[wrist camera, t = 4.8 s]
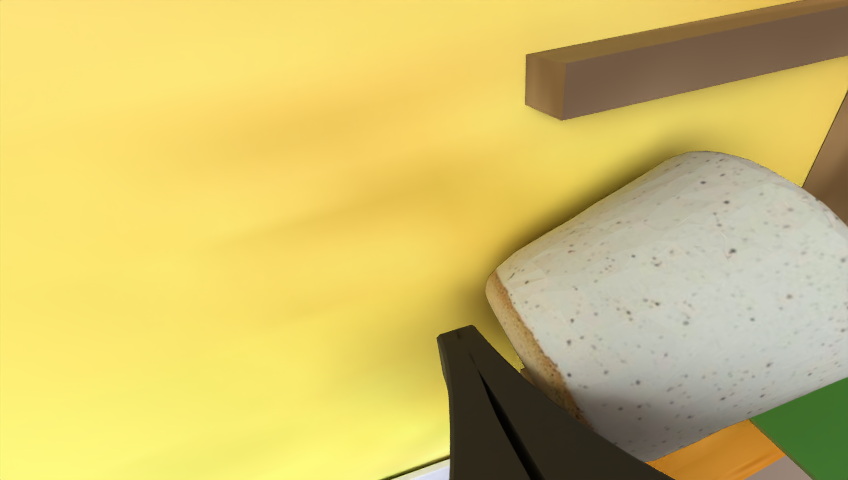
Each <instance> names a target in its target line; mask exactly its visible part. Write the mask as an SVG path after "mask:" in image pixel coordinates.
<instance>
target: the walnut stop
mask: <svg viewBox="0 0 848 480" xmlns="http://www.w3.org/2000/svg"><path fill="white" fill-rule="evenodd" d="M847 55H848V0H801V1H796V2H791V3H786V4H781V5H776V6H771V7H766V8H761V9H756V10H751V11H746V12H740V13H735V14H730V15H725V16H720V17H715V18H710V19H705V20H700V21H695V22H690V23H685V24H680V25H674V26H669V27H664V28H659V29H654V30H649V31H644V32H639V33H634V34H629V35H624V36H619V37H613V38H608V39H603V40H598V41H593V42H588V43H583V44H578V45H573V46H568V47H563V48H558V49H552V50H547V51H542V52H537V53H532V54H527V55H526V96H525V105H528V106H530V107H532V108H534V109H537V110H539V111H541V112H544V113H546V114H548V115H550V116H553V117H555V118H557V119H559V120H567V119H571V118H575V117H580V116H584V115H589V114H593V113H597V112H602V111H606V110H610V109H615V108H619V107H624V106H628V105H632V104H637V103H641V102H645V101H650V100H654V99H659V98H663V97H667V96H672V95H676V94H680V93H685V92H689V91H694V90H698V89H702V88H707V87H711V86H715V85H720V84H724V83H729V82H733V81H737V80H742V79H746V78H750V77H755V76H759V75H764V74H768V73H772V72H777V71H781V70H785V69H790V68H794V67H799V66H803V65H807V64H812V63H816V62H821V61H825V60H829V59H834V58H838V57H842V56H847ZM803 189H804V190H805V191H807V192H808V193H810V194H811V195H812V196H814V197H815V198H817V199H818V200H820V201H821V202H823V203H824V204H825V205H826V206H827V207H829V208H830V209H831V210H832V211H833V212H834V213H835V214H836V215H837V216H838V217H839V218H840V219H841V220H842V221H843V222H844V224H845V225H846V226H847V227H848V93H847V95H846V97H845V100H844V102H843V104H842V106H841V108H840V110H839V112H838V114H837V116H836V118H835V121H834V123H833V125H832V127H831V129H830V131H829V133H828V135H827V137H826V139H825V142H824V144H823V146H822V148H821V150H820V152H819V154H818V156H817V158H816V160H815V163H814V165H813V167H812V169H811V171H810V173H809V175H808V177H807V179H806V181H805V184H804V186H803ZM521 375H522V376H523V377H524V378H526V379H527V380H528V381H529V382H530V383H531V384H532V385H534V386H535V387H536V385H535V384H534V382H533V380H532V378H531V377H530V375H529V373H528V371H527V370H526V368H525V369H522V370H521ZM536 388H537V387H536Z"/></svg>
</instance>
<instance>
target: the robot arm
mask: <svg viewBox="0 0 848 480" xmlns="http://www.w3.org/2000/svg"><path fill="white" fill-rule="evenodd" d="M437 342H438V348H439V354H440V359H441V365H442V371H443V375H444V378H445V382H446V385H447V389H448V395H449V414H450V459H448V460H445V461H442V462H439V463H436V464H434V465H431V466H428V467H425V468H422V469H420V470H417V471H414V472H411V473H408V474H406V475H403V476H400V477H397V478H394V479H392V480H675V479H673V478H671V477H669V476H667V475H666V474H664V473H662V472H660V471H658V470H656V469H655V468H653V467H651V466H650V465H648V464H646V463H644V462H643V461H641V460H639V459H637V458H636V457H634V456H632V455H631V454H629V453H627V452H626V451H624V450H623V449H621V448H619V447H618V446H616V445H615V444H613V443H612V442H610V441H608V440H607V439H605V438H604V437H602V436H600V435H599V434H597V433H596V432H594V431H593V430H591V429H590V428H588V427H587V426H586V425H584V424H583V423H581V422H580V421H578V420H577V419H576V418H574V417H573V416H572V415H570V414H569V413H567V412H566V411H565V410H563V409H562V408H561V407H559V406H558V405H557V404H556V403H554V402H553V401H552V400H551V399H549V398H548V397H547V396H546V395H544V394H543V393H542V392H541V391H540V390H538V389H537V388H536V387H535V386H534V385H532V384H531V383H530V382H529V381H528V380H527V379H526V378H524V377H523V376H522V375H521V374H520V373H519V372H518V371H517V370H516V369H515V368H514V367H513V366H512V365H510V364H509V363H508V362H507V361H506V360H505V359H504V358H503V357H502V356H501V355H500V354H499V353H498V352H497V351H496V350H495V349H494V348H493V347H492V346H491V344H490V343H489V342H488V341H487V340H486V339H485V338H484V337H483V336H482V335H481V333H480V332H479V331H478V330H477V329H476V327H475V326H473V325H469V326H466V327H463V328H459V329H456V330H453V331H450V332H447V333H443V334H440V335H439V336H438V337H437Z"/></svg>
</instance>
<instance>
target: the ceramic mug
mask: <svg viewBox="0 0 848 480" xmlns="http://www.w3.org/2000/svg"><path fill="white" fill-rule="evenodd" d="M485 294H486V296H487V299H488V302H489V304H490V306H491V308H492V309H493V311H494V313H495V315H496V317H497V319H498V321H499V322H500V324H501V326H502V328H503V330H504V331H505V333H506V335H507V337H508V338H509V340H510V342H511V344H512V345H513V347H514V349H515V351H516V352H517V354H518V356H519V358H520V359H521V361H522V363H523V365H524V366H525V368H526V370H527V371H528V373H529V375H530V377H531V378H532V380H533V382H534V384H535V385H536V387H537V389H538V390H540V391H541V392H542V393H543V394H544V395H546V396H547V397H548V398H549V399H551V400H552V401H553V402H554V403H556V404H557V405H558V406H559V407H561V408H562V409H563V410H565V411H566V412H567V413H569V414H570V415H572V416H573V417H574V418H576V419H577V420H578V421H580V422H581V423H583V424H584V425H586V426H587V427H588V428H590V429H591V430H593V431H594V432H596V433H597V434H599V435H600V436H602V437H604V438H605V439H607V440H608V441H610V442H612V443H613V444H615V445H616V446H618V447H619V448H621V449H623V450H624V451H626V452H627V453H629V454H631V455H632V456H634V457H636V458H637V459H639V460H641V461H643V462H649V461H654V460H657V459H659V458H661V457H663V456H666V455H668V454H670V453H672V452H675V451H677V450H679V449H681V448H684V447H686V446H688V445H690V444H693V443H695V442H697V441H699V440H701V439H703V438H705V437H707V436H709V435H711V434H713V433H715V432H717V431H719V430H721V429H723V428H726V427H728V426H731V425H733V424H736V423H739V422H741V421H744V420H746V419H749V418H751V417H754V416H756V415H759V414H761V413H764V412H766V411H768V410H771V409H773V408H775V407H778V406H780V405H782V404H785V403H787V402H789V401H792V400H794V399H796V398H799V397H801V396H803V395H806V394H808V393H811V392H813V391H815V390H818V389H820V388H822V387H825V386H827V385H829V384H832V383H834V382H837V381H839V380H841V379H844V378H846V377H848V227H847V226H846V225H845V224H844V222H843V221H842V220H841V219H840V218H839V217H838V216H837V215H836V214H835V213H834V212H833V211H832V210H831V209H830V208H829V207H827V206H826V205H825V204H824V203H823V202H821V201H820V200H818V199H817V198H815V197H814V196H812V195H811V194H810V193H808V192H807V191H805V190H804V189H803V188H801V187H800V186H798V185H796V184H794V183H792V182H790V181H789V180H787V179H785V178H784V177H782V176H780V175H778V174H777V173H775V172H773V171H771V170H770V169H768V168H766V167H763V166H761V165H759V164H757V163H755V162H753V161H751V160H748V159H744V158H741V157H738V156H734V155H729V154H725V153H720V152H711V151H695V152H687V153H684V154H681V155H677V156H674V157H672V158H670V159H668V160H666V161H664V162H662V163H661V164H659V165H658V166H656V167H654V168H653V169H651V170H650V171H648V172H647V173H645V174H643V175H642V176H640V177H639V178H637V179H635V180H634V181H632V182H630V183H629V184H627V185H625V186H624V187H622V188H621V189H619V190H617V191H615V192H614V193H612V194H610V195H609V196H607V197H605V198H604V199H602V200H600V201H598V202H597V203H595V204H593V205H592V206H590V207H589V208H587V209H586V210H584V211H583V212H581V213H580V214H578V215H577V216H575V217H574V218H572V219H571V220H569V221H567V222H565V223H564V224H562V225H560V226H558V227H557V228H555V229H553V230H551V231H550V232H548V233H546V234H545V235H543V236H541V237H539V238H538V239H536V240H534V241H533V242H531V243H529V244H528V245H526V246H525V247H523V248H521V249H520V250H518V251H516V252H515V253H514V254H512V255H511V256H510V257H509V258H508V259H506V260H505V261H504V262H503V263H502V264H501V265H499V266H498V267H497V268H496V269H495V271H494V272H493V273H492V274H491V275H490V276H489V278H488V281H487V283H486V291H485Z"/></svg>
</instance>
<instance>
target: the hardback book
mask: <svg viewBox="0 0 848 480" xmlns="http://www.w3.org/2000/svg"><path fill="white" fill-rule="evenodd" d="M749 420H750V421H751V422H752V423H753V424H754V425H755V426H756V427H757V428H758V429H759V430H760V431H761V432H762V433H763V434H764V435H765V436H766V437H768V438H769V439H770V440H771V441H772V442H773V443H774V444H775V445H776V446H777V447H778V448H779V449H780V450H782V451H783V452H784V453H785V454H786V455H787V456H788V457H789V458H790V459H791V460H792V461H793V462H794V463H795V464H797V465H798V466H799V467H800V468H801V469H802V470H803V471H804V472H805V473H806V474H807V475H808V476H809V477H811V478H812V479H813V480H848V377H846V378H844V379H841V380H839V381H837V382H834V383H832V384H829V385H827V386H825V387H822V388H820V389H818V390H815V391H813V392H811V393H808V394H806V395H803V396H801V397H799V398H796V399H794V400H792V401H789V402H787V403H785V404H782V405H780V406H778V407H775V408H773V409H771V410H768V411H766V412H764V413H761V414H759V415H756V416H754V417H751V418H749Z"/></svg>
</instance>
